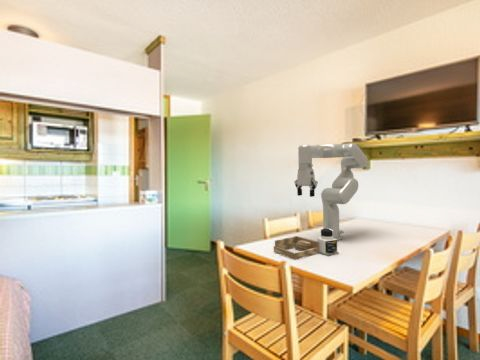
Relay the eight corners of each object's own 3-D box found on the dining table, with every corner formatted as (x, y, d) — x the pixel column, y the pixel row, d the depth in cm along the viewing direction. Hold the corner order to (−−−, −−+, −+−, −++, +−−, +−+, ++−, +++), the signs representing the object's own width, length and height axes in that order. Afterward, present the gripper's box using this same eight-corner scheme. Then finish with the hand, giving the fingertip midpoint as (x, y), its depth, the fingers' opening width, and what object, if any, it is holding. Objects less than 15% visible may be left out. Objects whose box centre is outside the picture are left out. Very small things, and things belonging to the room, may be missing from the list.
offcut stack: (300, 248, 148) (300, 239, 148) (312, 251, 141) (312, 242, 141) (295, 249, 146) (295, 240, 146) (307, 253, 139) (307, 244, 139)
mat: (326, 249, 144) (326, 248, 144) (338, 253, 138) (338, 252, 137) (315, 252, 140) (315, 251, 140) (328, 256, 133) (328, 255, 133)
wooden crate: (296, 246, 152) (296, 236, 152) (318, 253, 138) (318, 241, 138) (273, 251, 143) (273, 240, 142) (294, 259, 129) (294, 247, 129)
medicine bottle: (325, 254, 134) (325, 231, 134) (317, 250, 141) (316, 228, 141) (337, 253, 137) (337, 229, 136) (328, 249, 143) (328, 227, 143)
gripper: (321, 166, 149) (322, 196, 150) (299, 166, 164) (299, 194, 164) (312, 166, 145) (312, 197, 146) (290, 167, 160) (290, 195, 160)
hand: (305, 195), depth 155 cm, fingers open, 9 cm apart
